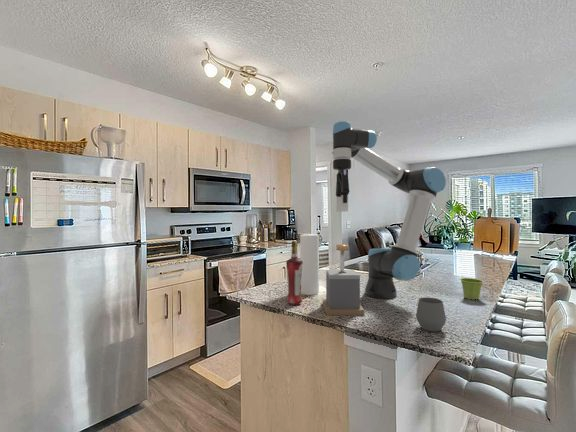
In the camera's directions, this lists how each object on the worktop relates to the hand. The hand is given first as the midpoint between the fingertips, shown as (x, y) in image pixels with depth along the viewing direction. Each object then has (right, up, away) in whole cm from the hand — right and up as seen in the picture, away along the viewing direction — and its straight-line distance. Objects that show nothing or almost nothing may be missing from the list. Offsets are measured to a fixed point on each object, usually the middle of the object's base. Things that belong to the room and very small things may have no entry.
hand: (342, 211), depth 128 cm
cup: (+27, -41, -22) cm, 54 cm away
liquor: (-20, -41, +8) cm, 47 cm away
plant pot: (+64, -41, +16) cm, 78 cm away
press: (0, -41, 0) cm, 41 cm away
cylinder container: (-12, -41, +27) cm, 51 cm away
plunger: (0, -30, 0) cm, 30 cm away
